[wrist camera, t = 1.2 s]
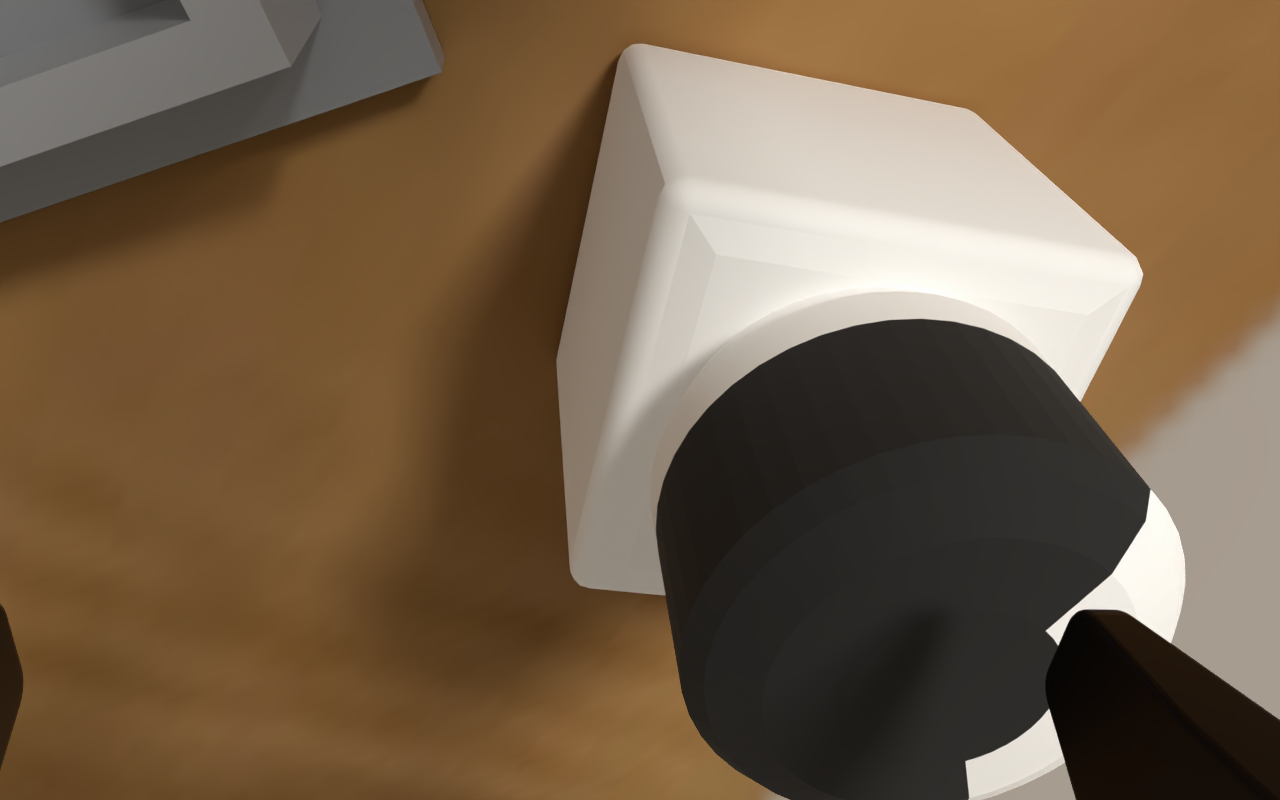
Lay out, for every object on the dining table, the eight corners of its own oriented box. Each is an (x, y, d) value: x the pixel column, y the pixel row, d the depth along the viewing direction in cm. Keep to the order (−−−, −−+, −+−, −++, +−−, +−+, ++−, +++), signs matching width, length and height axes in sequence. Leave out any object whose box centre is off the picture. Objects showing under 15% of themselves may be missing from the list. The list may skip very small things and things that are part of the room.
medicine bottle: (552, 366, 23) (582, 871, 13) (621, 34, 20) (734, 385, 10) (859, 408, 25) (1097, 893, 15) (978, 106, 21) (1403, 477, 11)
